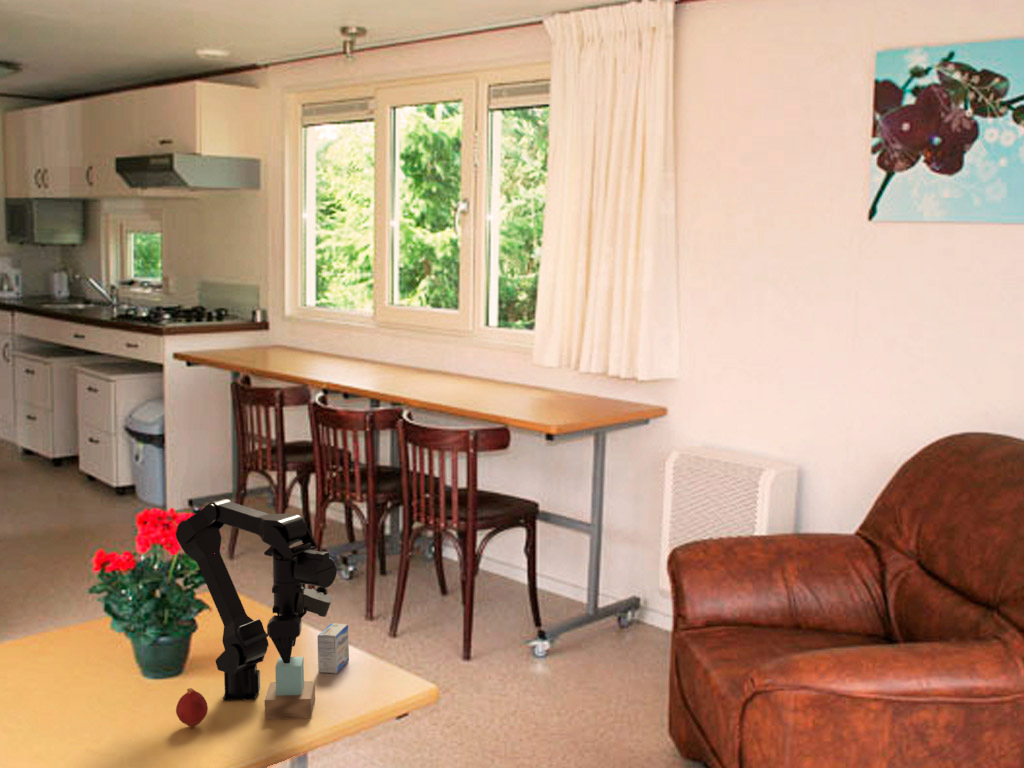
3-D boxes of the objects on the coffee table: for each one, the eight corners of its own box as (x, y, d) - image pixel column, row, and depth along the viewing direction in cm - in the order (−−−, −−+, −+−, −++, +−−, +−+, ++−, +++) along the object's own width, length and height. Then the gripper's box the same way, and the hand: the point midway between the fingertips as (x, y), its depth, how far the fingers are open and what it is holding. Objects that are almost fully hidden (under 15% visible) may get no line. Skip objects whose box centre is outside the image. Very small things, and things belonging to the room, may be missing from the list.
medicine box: (337, 674, 244) (336, 636, 242) (317, 672, 244) (317, 634, 243) (349, 661, 251) (348, 623, 250) (330, 659, 252) (330, 622, 251)
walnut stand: (264, 719, 221) (264, 700, 220) (270, 700, 230) (270, 681, 229) (311, 718, 221) (310, 698, 221) (315, 699, 230) (314, 680, 230)
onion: (196, 718, 221) (195, 679, 220) (214, 726, 218) (213, 686, 216) (171, 727, 217) (169, 688, 216) (188, 736, 213) (187, 696, 212)
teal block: (276, 695, 222) (275, 666, 222) (279, 685, 227) (278, 657, 226) (301, 694, 223) (300, 666, 222) (304, 684, 228) (303, 656, 227)
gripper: (325, 593, 213) (326, 671, 216) (332, 564, 232) (333, 637, 234) (265, 594, 213) (267, 673, 215) (278, 565, 231) (279, 638, 233)
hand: (289, 654), depth 224 cm, fingers open, 9 cm apart
